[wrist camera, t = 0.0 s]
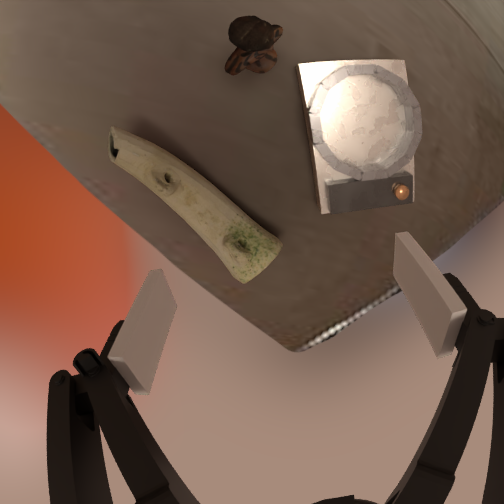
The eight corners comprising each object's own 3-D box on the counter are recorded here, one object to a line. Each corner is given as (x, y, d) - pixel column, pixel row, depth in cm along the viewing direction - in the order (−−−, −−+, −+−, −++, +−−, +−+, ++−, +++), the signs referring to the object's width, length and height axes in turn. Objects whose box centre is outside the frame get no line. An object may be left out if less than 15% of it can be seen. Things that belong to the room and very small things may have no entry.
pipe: (285, 232, 46) (290, 269, 38) (249, 266, 50) (246, 306, 41) (139, 114, 38) (106, 123, 29) (110, 158, 41) (76, 178, 32)
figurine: (247, 89, 36) (237, 86, 20) (221, 64, 34) (191, 46, 19) (288, 54, 33) (308, 26, 18) (261, 29, 31) (261, -14, 16)
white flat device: (293, 66, 34) (299, 62, 28) (393, 61, 32) (414, 59, 27) (315, 203, 44) (323, 222, 38) (404, 191, 42) (422, 207, 36)
